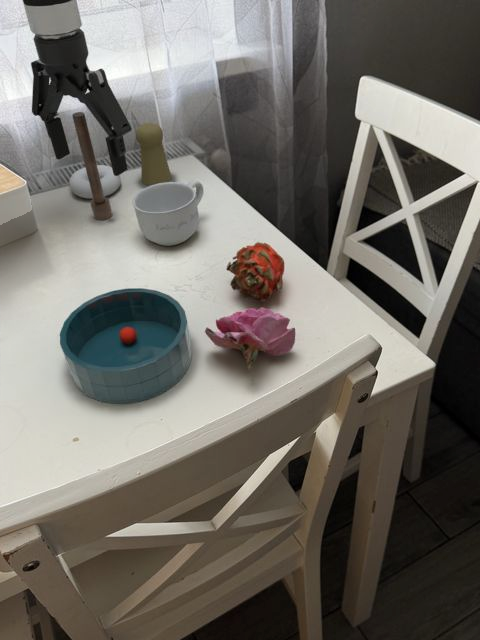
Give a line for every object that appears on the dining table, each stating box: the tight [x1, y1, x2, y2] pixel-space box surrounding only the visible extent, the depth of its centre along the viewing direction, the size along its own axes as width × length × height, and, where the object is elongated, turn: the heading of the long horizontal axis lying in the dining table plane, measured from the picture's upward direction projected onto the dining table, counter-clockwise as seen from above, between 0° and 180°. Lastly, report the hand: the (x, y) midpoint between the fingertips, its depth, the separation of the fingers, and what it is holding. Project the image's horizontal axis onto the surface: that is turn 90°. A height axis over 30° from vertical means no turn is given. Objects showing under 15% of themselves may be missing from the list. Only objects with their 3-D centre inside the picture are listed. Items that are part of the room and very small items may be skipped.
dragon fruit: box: [226, 241, 285, 302], centre depth 91 cm, size 8×8×12 cm
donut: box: [68, 164, 122, 200], centre depth 117 cm, size 10×4×10 cm
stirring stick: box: [71, 111, 113, 221], centre depth 105 cm, size 3×3×19 cm
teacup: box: [131, 179, 204, 247], centre depth 103 cm, size 14×11×8 cm
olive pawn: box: [135, 122, 173, 187], centre depth 117 cm, size 6×6×11 cm
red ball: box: [119, 327, 137, 344], centre depth 84 cm, size 2×2×2 cm
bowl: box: [59, 287, 193, 405], centre depth 81 cm, size 17×17×6 cm
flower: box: [204, 306, 296, 386], centre depth 80 cm, size 11×10×10 cm
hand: (91, 164), depth 104 cm, fingers open, 13 cm apart
